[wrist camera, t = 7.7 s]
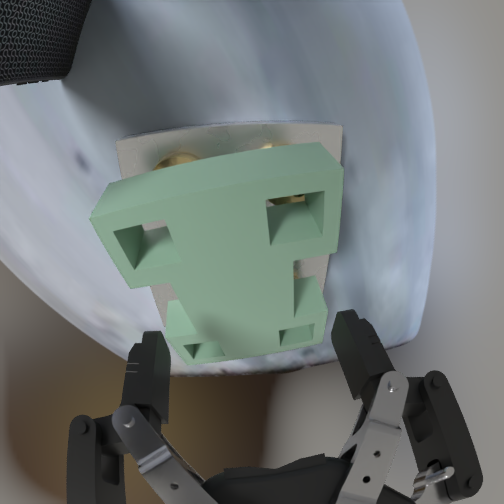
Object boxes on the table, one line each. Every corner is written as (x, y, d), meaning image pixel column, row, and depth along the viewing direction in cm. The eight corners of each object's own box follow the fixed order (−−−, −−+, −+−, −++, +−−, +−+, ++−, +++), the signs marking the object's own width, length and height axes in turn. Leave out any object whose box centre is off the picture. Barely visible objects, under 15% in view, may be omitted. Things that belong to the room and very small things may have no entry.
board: (187, 332, 21) (187, 365, 19) (109, 183, 12) (88, 218, 10) (312, 311, 22) (322, 342, 19) (318, 141, 12) (344, 168, 10)
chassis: (166, 314, 24) (160, 356, 20) (122, 137, 15) (94, 154, 11) (314, 300, 25) (330, 338, 21) (333, 122, 16) (368, 135, 12)
